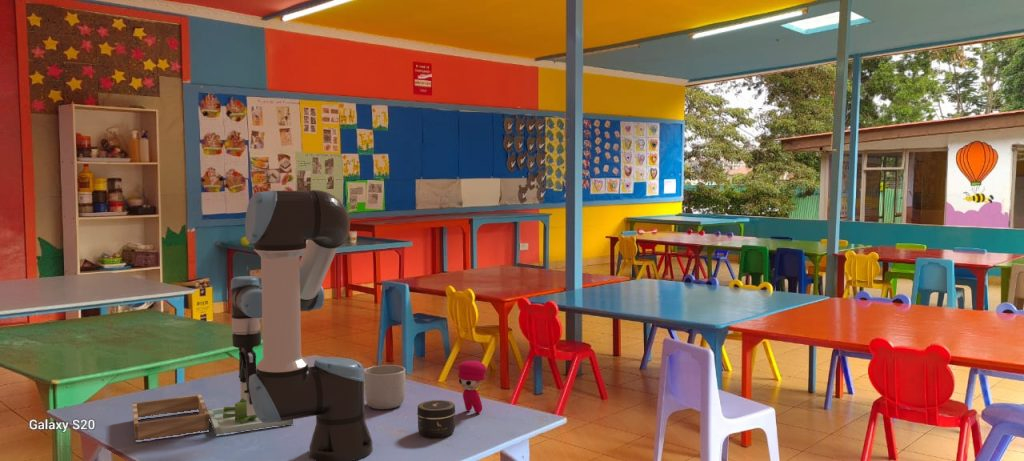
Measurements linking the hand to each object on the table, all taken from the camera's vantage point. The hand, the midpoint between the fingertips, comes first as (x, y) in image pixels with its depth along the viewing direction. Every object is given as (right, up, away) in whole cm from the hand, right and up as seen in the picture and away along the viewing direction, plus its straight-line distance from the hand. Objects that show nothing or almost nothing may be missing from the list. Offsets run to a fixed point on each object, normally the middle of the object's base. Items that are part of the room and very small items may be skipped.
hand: (249, 409), depth 213 cm
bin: (-20, -4, -4) cm, 21 cm away
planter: (+36, -2, +13) cm, 39 cm away
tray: (0, -3, 0) cm, 3 cm away
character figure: (0, -3, -1) cm, 3 cm away
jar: (+54, -3, -12) cm, 56 cm away
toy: (+63, -2, +6) cm, 63 cm away
